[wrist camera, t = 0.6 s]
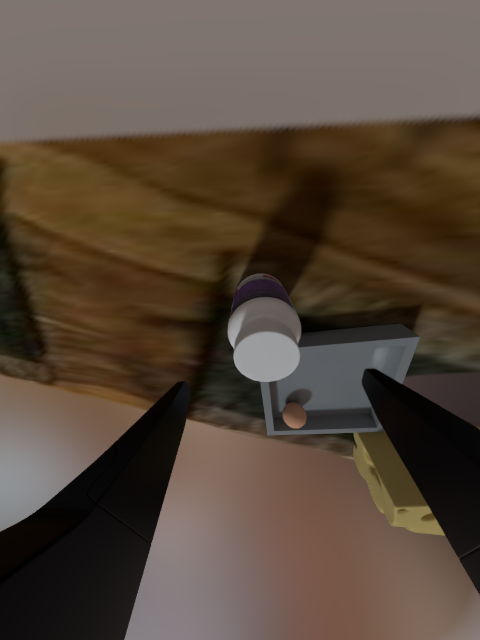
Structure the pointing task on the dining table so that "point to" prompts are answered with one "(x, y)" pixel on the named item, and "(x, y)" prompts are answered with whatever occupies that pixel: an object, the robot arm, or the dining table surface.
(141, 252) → the dining table surface
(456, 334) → the dining table surface
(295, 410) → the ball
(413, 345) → the tray
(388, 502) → the cheese
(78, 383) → the dining table surface
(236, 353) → the pill bottle
